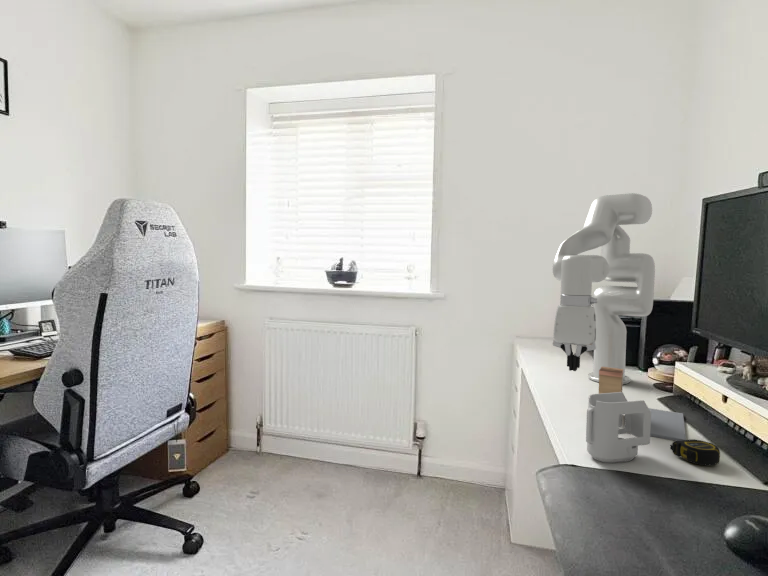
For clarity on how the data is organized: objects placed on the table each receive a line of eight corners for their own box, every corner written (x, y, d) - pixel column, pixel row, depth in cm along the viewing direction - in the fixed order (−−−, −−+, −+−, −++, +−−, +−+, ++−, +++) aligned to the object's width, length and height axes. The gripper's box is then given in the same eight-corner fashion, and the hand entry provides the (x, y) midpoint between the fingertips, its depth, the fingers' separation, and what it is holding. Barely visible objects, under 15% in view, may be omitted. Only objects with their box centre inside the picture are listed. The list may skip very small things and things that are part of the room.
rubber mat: (629, 407, 121) (630, 405, 121) (682, 415, 114) (683, 413, 114) (624, 431, 104) (624, 428, 104) (685, 442, 98) (685, 439, 97)
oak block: (600, 410, 118) (601, 366, 117) (621, 414, 115) (623, 369, 115) (597, 416, 114) (599, 370, 113) (619, 420, 111) (621, 373, 110)
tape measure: (697, 453, 92) (698, 435, 92) (728, 468, 86) (729, 449, 86) (669, 455, 91) (670, 438, 91) (698, 471, 85) (699, 452, 84)
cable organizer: (652, 460, 89) (655, 399, 88) (597, 467, 86) (599, 404, 85) (626, 446, 95) (628, 389, 95) (574, 452, 93) (576, 393, 92)
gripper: (608, 302, 117) (605, 371, 118) (549, 299, 125) (547, 363, 126) (605, 304, 110) (602, 376, 111) (543, 301, 118) (541, 368, 119)
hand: (573, 369), depth 118 cm, fingers closed
